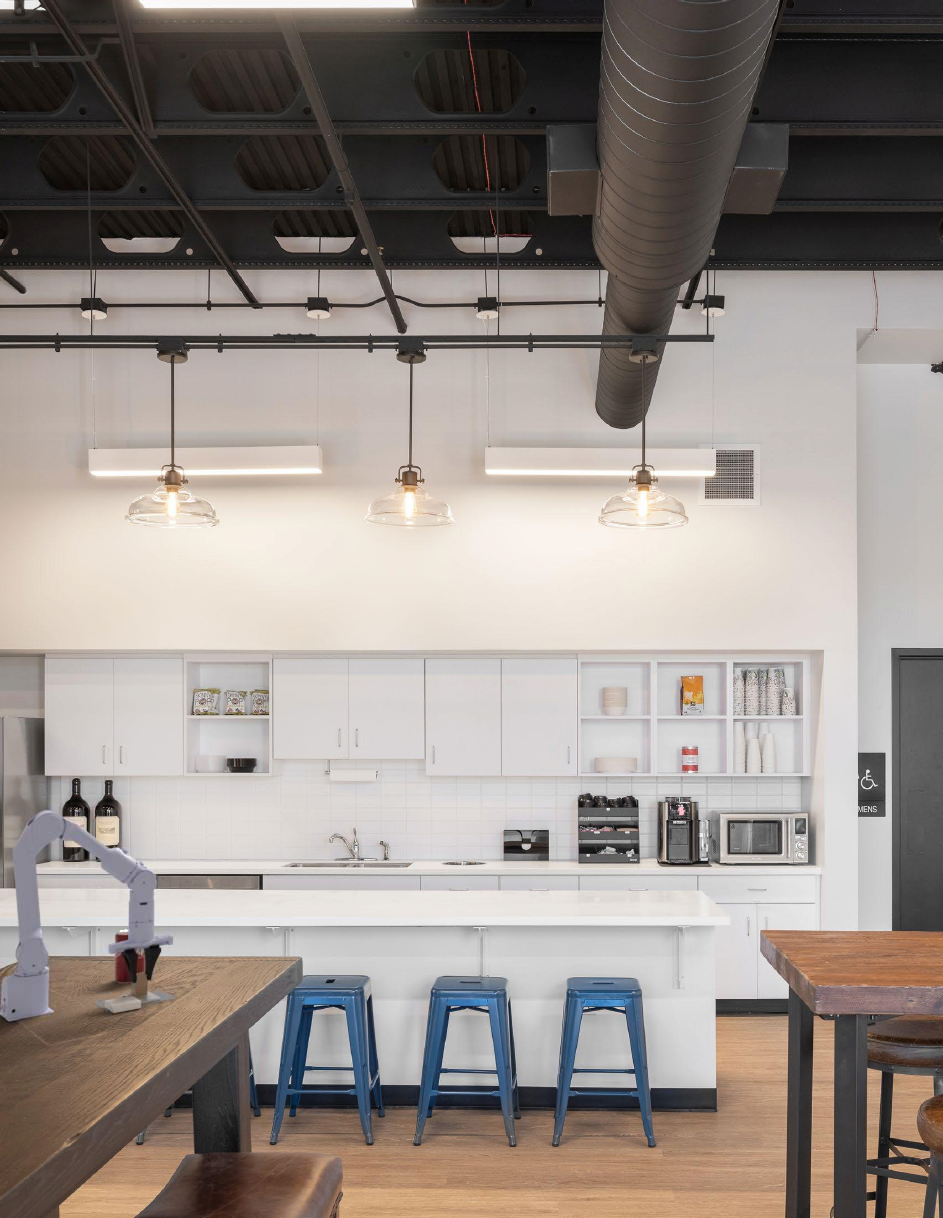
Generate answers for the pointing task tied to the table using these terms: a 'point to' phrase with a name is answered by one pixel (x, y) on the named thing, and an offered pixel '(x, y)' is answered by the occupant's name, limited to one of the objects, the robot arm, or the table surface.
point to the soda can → (120, 964)
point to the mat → (159, 993)
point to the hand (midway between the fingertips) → (140, 980)
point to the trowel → (142, 989)
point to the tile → (122, 1004)
